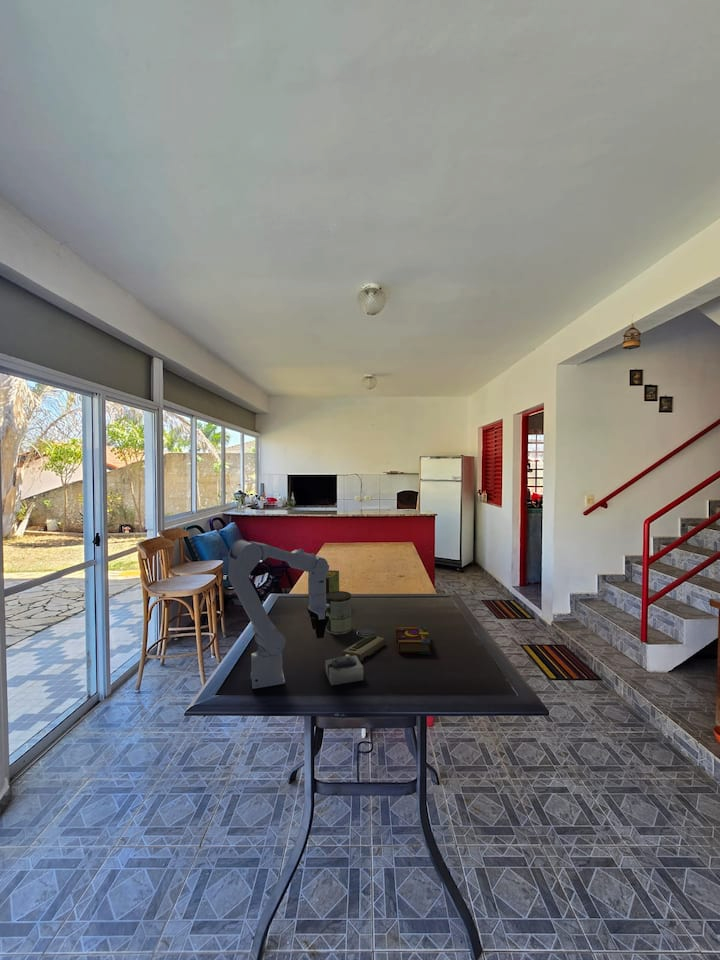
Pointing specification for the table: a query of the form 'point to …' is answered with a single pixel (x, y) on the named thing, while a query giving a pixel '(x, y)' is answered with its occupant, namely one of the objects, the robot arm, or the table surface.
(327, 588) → the protein box
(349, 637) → the table surface
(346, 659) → the block
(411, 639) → the decorative book
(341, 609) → the coffee can
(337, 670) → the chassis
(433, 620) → the table surface
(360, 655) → the computer
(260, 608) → the robot arm
